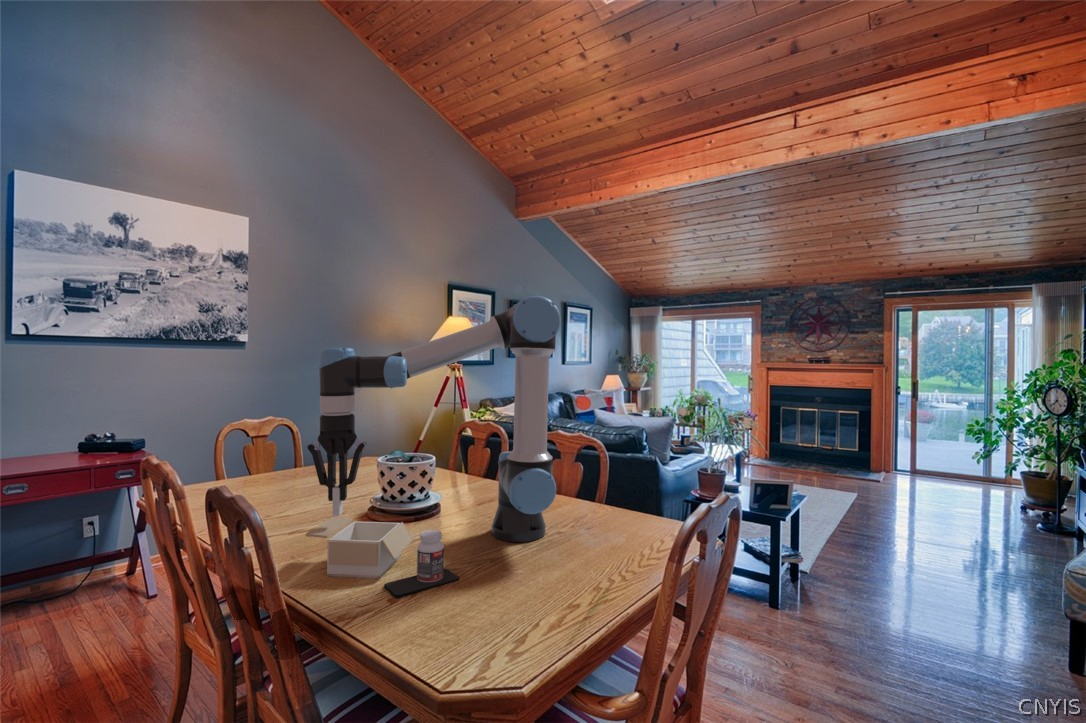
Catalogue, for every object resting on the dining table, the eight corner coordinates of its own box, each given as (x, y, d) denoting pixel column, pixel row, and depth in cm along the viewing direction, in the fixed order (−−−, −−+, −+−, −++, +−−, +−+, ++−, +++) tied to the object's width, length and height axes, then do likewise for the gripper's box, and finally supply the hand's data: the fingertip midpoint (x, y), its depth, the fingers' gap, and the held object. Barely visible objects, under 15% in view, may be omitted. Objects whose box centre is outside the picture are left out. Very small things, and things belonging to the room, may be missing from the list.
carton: (401, 554, 121) (401, 522, 121) (379, 579, 108) (379, 542, 108) (354, 552, 122) (354, 520, 122) (326, 576, 108) (326, 540, 108)
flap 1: (352, 518, 122) (332, 516, 122) (327, 535, 109) (305, 533, 110) (352, 520, 122) (332, 518, 122) (327, 538, 109) (305, 536, 110)
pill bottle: (436, 585, 105) (437, 539, 105) (412, 582, 106) (412, 536, 106) (447, 574, 110) (448, 530, 111) (423, 572, 112) (424, 528, 112)
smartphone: (461, 578, 108) (395, 596, 98) (461, 582, 108) (395, 601, 98) (445, 567, 114) (382, 583, 104) (445, 571, 114) (381, 587, 104)
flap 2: (400, 522, 121) (411, 540, 120) (380, 540, 108) (392, 560, 108) (402, 521, 121) (413, 539, 120) (382, 539, 108) (394, 558, 108)
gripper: (369, 411, 119) (370, 508, 119) (313, 412, 118) (313, 510, 118) (362, 414, 112) (362, 518, 112) (302, 415, 110) (302, 520, 110)
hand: (337, 514), depth 115 cm, fingers closed
